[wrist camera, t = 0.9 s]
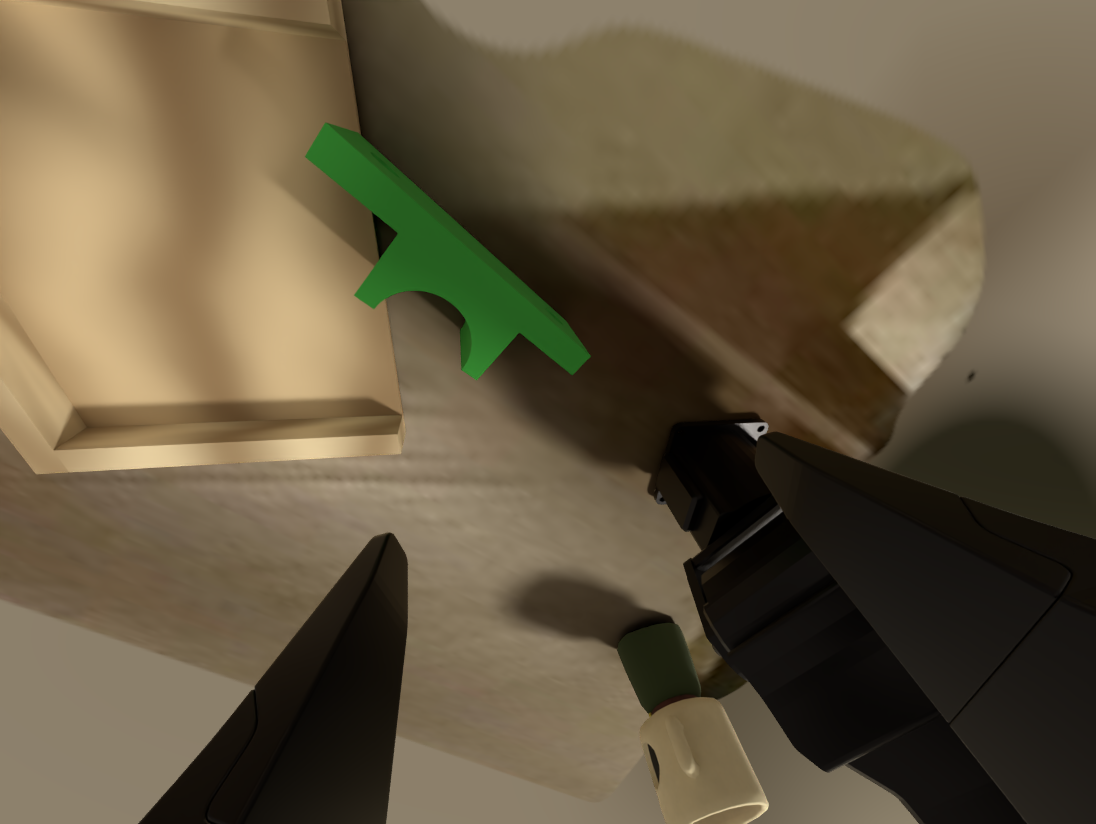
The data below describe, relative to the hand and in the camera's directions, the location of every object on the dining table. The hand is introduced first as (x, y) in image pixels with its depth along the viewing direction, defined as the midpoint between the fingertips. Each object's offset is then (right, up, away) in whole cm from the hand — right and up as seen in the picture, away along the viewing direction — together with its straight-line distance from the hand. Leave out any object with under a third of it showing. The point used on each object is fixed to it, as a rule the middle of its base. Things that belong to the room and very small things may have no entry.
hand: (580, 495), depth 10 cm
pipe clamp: (-5, +8, +8) cm, 13 cm away
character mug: (+9, -19, +29) cm, 35 cm away
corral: (-15, +8, +7) cm, 18 cm away
